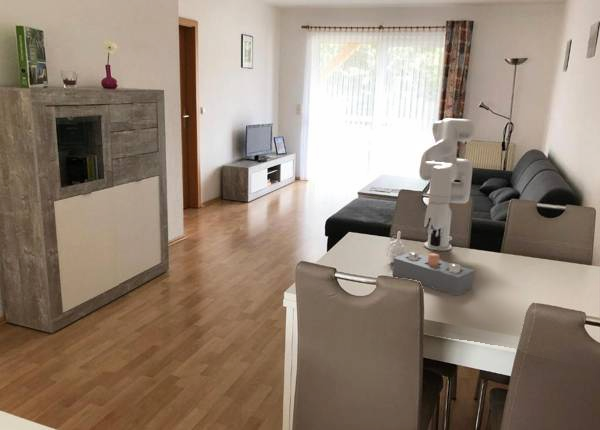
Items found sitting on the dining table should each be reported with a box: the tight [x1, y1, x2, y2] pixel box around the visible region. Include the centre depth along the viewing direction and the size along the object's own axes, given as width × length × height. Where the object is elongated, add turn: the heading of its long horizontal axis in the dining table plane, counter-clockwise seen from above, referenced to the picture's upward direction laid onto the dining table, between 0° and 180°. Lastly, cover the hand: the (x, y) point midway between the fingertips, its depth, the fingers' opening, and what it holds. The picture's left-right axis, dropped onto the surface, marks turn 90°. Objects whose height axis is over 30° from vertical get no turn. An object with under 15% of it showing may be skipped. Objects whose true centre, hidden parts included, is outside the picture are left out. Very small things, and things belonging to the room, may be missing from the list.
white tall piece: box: [386, 230, 406, 264], centre depth 214 cm, size 8×6×14 cm
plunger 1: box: [407, 251, 420, 261], centre depth 201 cm, size 4×4×8 cm
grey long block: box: [392, 252, 476, 297], centre depth 195 cm, size 12×28×7 cm, turn 44°
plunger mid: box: [427, 252, 440, 267], centre depth 194 cm, size 4×4×8 cm
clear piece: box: [449, 262, 461, 273], centre depth 188 cm, size 4×4×8 cm
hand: (434, 245), depth 193 cm, fingers closed
